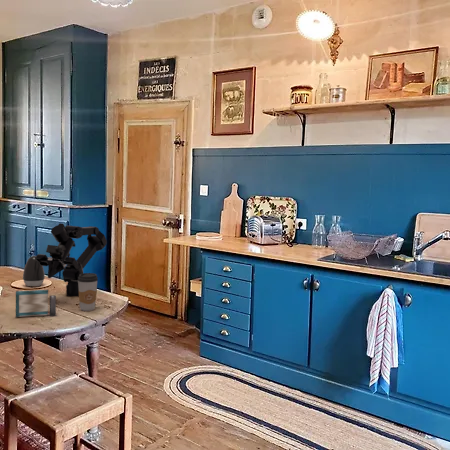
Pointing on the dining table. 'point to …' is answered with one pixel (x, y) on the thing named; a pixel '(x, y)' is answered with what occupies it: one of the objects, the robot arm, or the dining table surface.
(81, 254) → the robot arm
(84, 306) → the coffee cup
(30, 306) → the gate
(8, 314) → the dining table surface
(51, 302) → the gate posts
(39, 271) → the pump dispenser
